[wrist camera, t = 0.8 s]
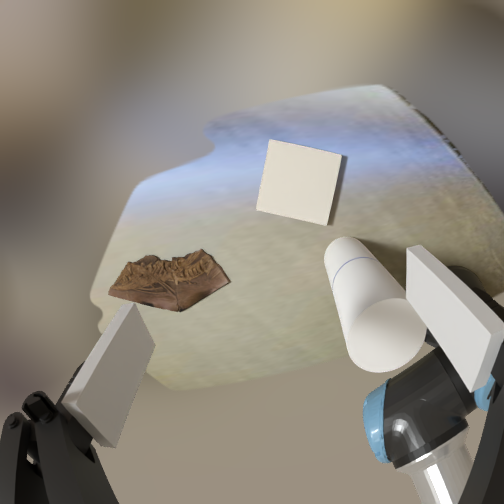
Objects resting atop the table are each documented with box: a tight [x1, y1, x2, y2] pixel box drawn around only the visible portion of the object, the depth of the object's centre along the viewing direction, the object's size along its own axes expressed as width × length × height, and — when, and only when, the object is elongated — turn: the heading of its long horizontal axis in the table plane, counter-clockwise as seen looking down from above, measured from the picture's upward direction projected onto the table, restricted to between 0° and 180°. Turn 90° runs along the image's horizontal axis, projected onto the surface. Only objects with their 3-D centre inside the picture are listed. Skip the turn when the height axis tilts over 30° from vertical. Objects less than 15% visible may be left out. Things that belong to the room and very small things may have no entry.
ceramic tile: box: [256, 139, 342, 226], centre depth 44 cm, size 11×11×1 cm
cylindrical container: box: [324, 237, 427, 372], centre depth 34 cm, size 7×7×25 cm
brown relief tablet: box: [108, 249, 230, 312], centre depth 52 cm, size 26×11×1 cm, turn 98°
